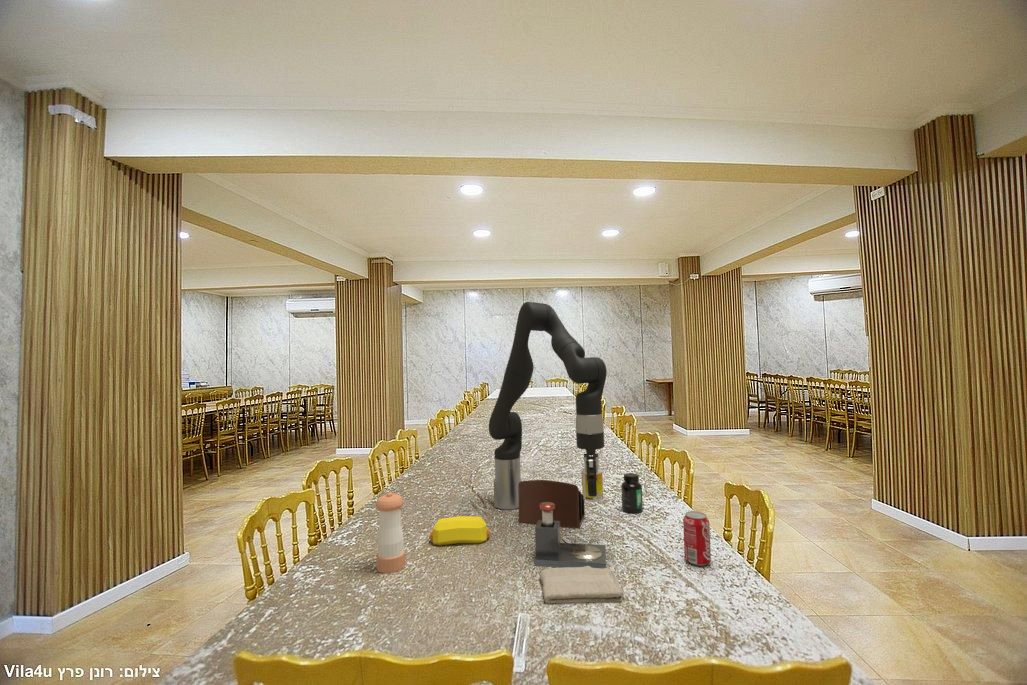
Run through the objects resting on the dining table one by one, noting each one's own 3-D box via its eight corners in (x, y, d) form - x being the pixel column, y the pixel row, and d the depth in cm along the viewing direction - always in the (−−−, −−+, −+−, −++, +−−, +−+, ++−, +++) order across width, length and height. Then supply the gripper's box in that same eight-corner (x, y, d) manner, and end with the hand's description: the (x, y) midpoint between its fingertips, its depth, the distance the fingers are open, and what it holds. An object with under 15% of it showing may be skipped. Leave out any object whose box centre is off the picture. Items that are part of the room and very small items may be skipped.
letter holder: (579, 529, 139) (578, 483, 139) (518, 523, 145) (517, 479, 145) (585, 517, 148) (583, 474, 148) (527, 512, 154) (526, 471, 155)
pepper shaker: (379, 575, 113) (377, 498, 113) (374, 564, 119) (372, 491, 119) (408, 568, 116) (406, 493, 116) (401, 557, 122) (400, 486, 123)
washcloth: (626, 604, 98) (625, 589, 98) (543, 607, 97) (543, 593, 97) (613, 576, 110) (612, 564, 110) (539, 579, 109) (539, 566, 109)
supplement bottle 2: (645, 513, 150) (643, 477, 150) (624, 514, 150) (623, 477, 150) (639, 506, 156) (638, 472, 157) (620, 507, 156) (618, 472, 157)
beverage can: (710, 557, 117) (708, 511, 117) (712, 569, 111) (710, 520, 111) (684, 555, 119) (682, 509, 119) (685, 565, 113) (683, 517, 113)
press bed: (534, 565, 116) (533, 532, 116) (540, 547, 126) (539, 516, 127) (606, 570, 112) (604, 535, 112) (605, 550, 123) (604, 519, 123)
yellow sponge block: (491, 544, 129) (490, 534, 137) (490, 521, 130) (489, 511, 137) (427, 548, 128) (430, 537, 136) (427, 525, 128) (430, 515, 136)
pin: (539, 537, 119) (538, 506, 119) (541, 531, 123) (540, 501, 123) (554, 538, 118) (553, 507, 118) (556, 532, 122) (555, 502, 122)
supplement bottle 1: (607, 500, 121) (605, 462, 122) (589, 504, 119) (588, 465, 120) (596, 495, 127) (594, 458, 127) (579, 498, 125) (577, 461, 125)
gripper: (576, 426, 131) (579, 484, 131) (575, 434, 117) (577, 500, 117) (603, 425, 130) (605, 485, 129) (604, 434, 116) (607, 501, 115)
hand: (592, 492), depth 123 cm, fingers closed on supplement bottle 1, 5 cm apart
